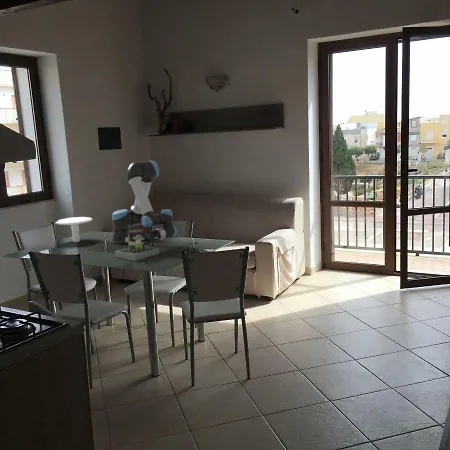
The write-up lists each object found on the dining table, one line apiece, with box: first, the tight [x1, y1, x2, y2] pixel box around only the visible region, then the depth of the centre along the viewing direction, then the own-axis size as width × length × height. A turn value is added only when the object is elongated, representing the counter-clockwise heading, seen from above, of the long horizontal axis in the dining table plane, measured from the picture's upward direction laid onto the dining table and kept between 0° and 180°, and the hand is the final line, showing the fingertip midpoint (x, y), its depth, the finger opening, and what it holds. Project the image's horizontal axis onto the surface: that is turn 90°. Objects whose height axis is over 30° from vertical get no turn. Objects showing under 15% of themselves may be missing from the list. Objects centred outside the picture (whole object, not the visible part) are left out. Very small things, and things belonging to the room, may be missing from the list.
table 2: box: [54, 216, 94, 243], centre depth 367 cm, size 28×28×17 cm
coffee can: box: [128, 228, 146, 254], centre depth 312 cm, size 10×10×14 cm
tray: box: [114, 245, 160, 262], centre depth 313 cm, size 20×20×4 cm
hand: (131, 241), depth 309 cm, fingers closed on coffee can, 10 cm apart
